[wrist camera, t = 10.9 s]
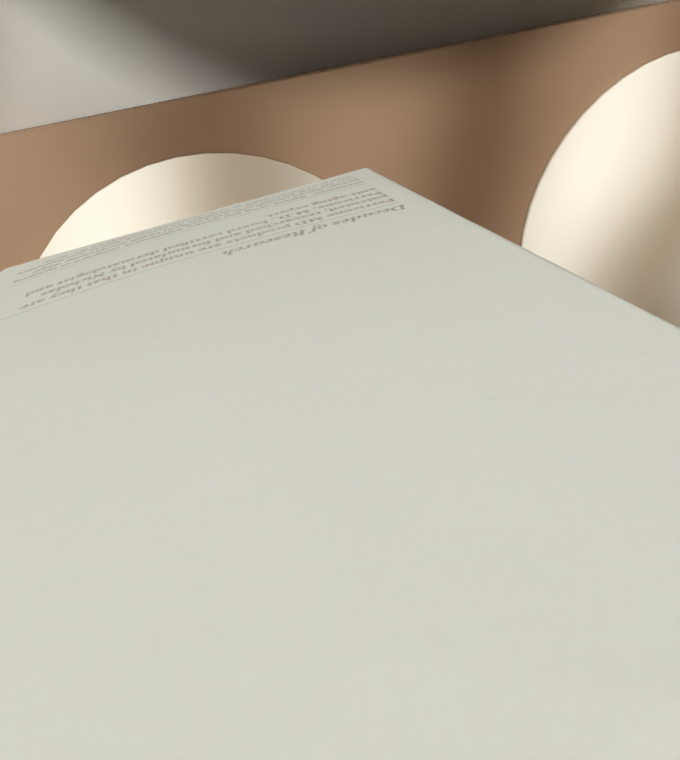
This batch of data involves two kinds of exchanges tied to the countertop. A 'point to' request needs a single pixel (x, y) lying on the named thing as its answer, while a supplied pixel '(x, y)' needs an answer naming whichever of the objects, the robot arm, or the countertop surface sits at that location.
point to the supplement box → (334, 494)
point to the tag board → (402, 149)
